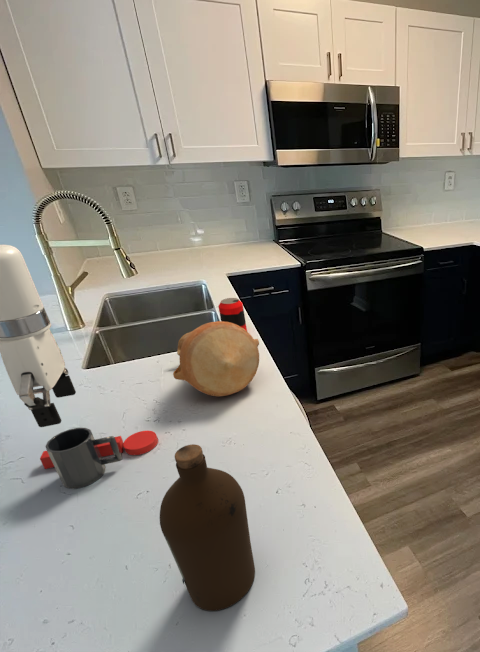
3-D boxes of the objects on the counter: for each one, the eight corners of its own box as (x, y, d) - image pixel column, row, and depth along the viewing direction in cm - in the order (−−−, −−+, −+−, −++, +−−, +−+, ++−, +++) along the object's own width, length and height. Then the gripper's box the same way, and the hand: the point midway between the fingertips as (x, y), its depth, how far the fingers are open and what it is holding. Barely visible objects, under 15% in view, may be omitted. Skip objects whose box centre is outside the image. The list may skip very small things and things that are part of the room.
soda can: (243, 338, 139) (237, 305, 133) (220, 339, 139) (214, 305, 133) (250, 329, 145) (244, 296, 140) (228, 329, 145) (222, 296, 140)
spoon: (41, 476, 83) (36, 465, 82) (51, 455, 88) (46, 445, 87) (156, 451, 89) (153, 440, 88) (159, 433, 95) (156, 423, 93)
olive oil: (261, 544, 69) (237, 421, 57) (257, 608, 60) (227, 476, 48) (193, 555, 67) (154, 431, 56) (177, 623, 58) (127, 490, 46)
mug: (58, 493, 79) (40, 456, 75) (68, 467, 85) (52, 432, 81) (122, 478, 82) (108, 442, 78) (128, 455, 88) (115, 420, 84)
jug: (172, 380, 92) (137, 349, 113) (236, 418, 105) (193, 384, 126) (229, 310, 97) (185, 293, 118) (283, 354, 110) (235, 332, 131)
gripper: (12, 308, 74) (49, 389, 82) (-34, 349, 60) (16, 443, 68) (62, 302, 77) (93, 382, 85) (29, 340, 62) (70, 432, 70)
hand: (59, 409), depth 76 cm, fingers open, 9 cm apart
